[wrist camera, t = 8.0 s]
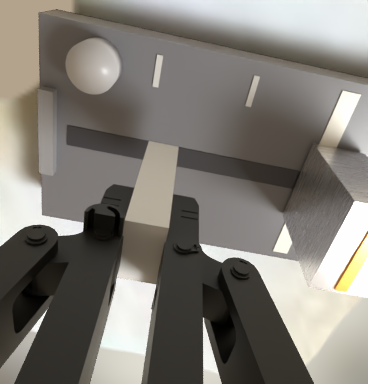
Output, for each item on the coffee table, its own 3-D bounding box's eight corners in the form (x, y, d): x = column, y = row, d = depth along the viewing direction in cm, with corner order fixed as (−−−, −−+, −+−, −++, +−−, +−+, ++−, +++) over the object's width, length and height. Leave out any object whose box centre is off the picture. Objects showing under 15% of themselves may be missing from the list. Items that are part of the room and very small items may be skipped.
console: (56, 9, 19) (25, 15, 15) (436, 93, 20) (484, 116, 17) (55, 195, 25) (32, 228, 21) (346, 248, 26) (368, 288, 23)
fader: (313, 143, 19) (356, 202, 14) (364, 153, 19) (425, 216, 14) (282, 215, 22) (308, 288, 17) (327, 224, 22) (368, 299, 17)
